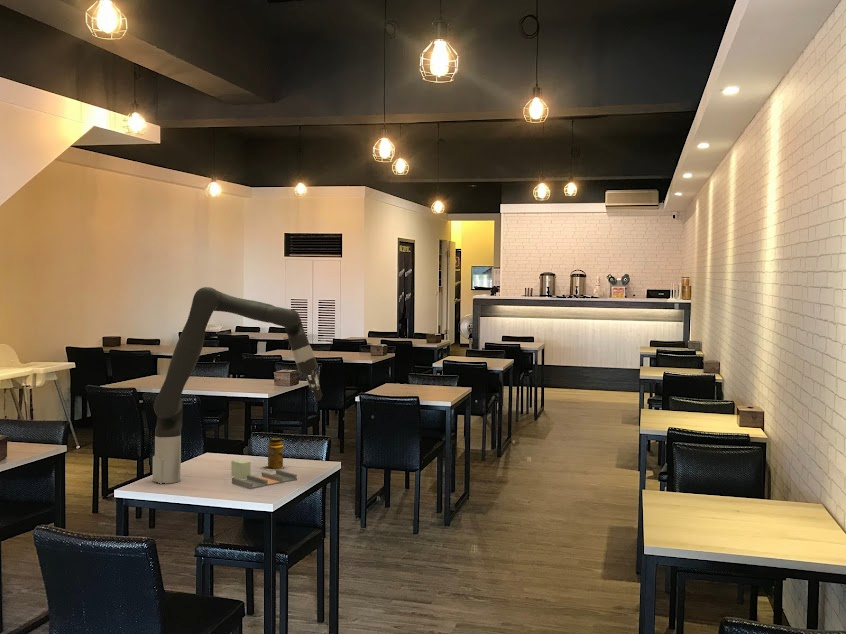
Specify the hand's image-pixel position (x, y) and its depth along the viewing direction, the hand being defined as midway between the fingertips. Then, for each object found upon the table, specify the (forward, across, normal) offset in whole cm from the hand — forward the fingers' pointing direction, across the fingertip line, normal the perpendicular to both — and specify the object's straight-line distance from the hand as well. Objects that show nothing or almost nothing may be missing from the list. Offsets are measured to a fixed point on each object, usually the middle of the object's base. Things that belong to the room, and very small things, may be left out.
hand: (319, 398), depth 294 cm
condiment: (+23, -20, -29) cm, 42 cm away
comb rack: (+22, +4, -30) cm, 37 cm away
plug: (+19, -5, -39) cm, 44 cm away
